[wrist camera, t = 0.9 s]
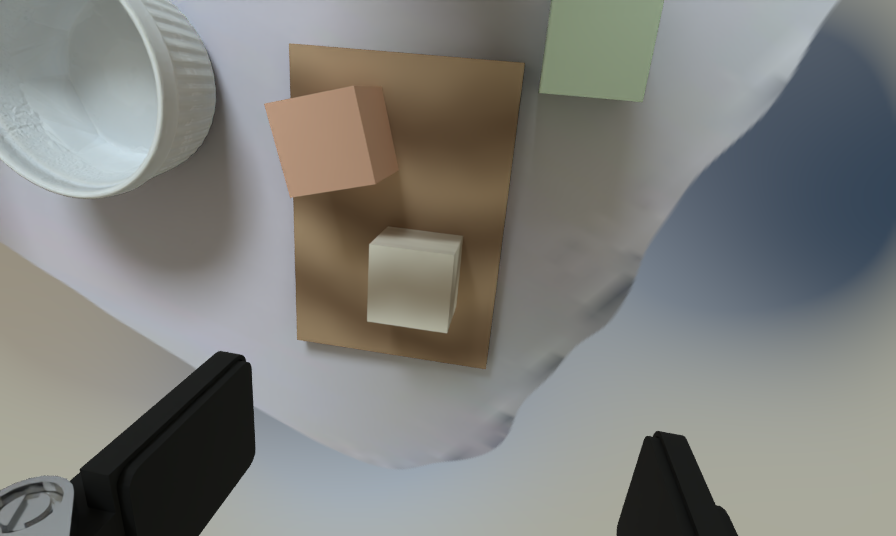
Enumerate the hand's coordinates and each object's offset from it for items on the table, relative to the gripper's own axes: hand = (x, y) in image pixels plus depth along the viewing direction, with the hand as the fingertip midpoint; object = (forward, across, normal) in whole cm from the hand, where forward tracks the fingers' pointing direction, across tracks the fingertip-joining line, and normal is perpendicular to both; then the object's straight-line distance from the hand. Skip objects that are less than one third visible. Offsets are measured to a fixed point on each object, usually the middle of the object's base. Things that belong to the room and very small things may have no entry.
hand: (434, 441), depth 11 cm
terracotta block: (+21, +10, -4) cm, 23 cm away
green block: (+22, -4, -10) cm, 25 cm away
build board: (+22, +6, +1) cm, 23 cm away
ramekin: (+22, +24, -6) cm, 34 cm away
